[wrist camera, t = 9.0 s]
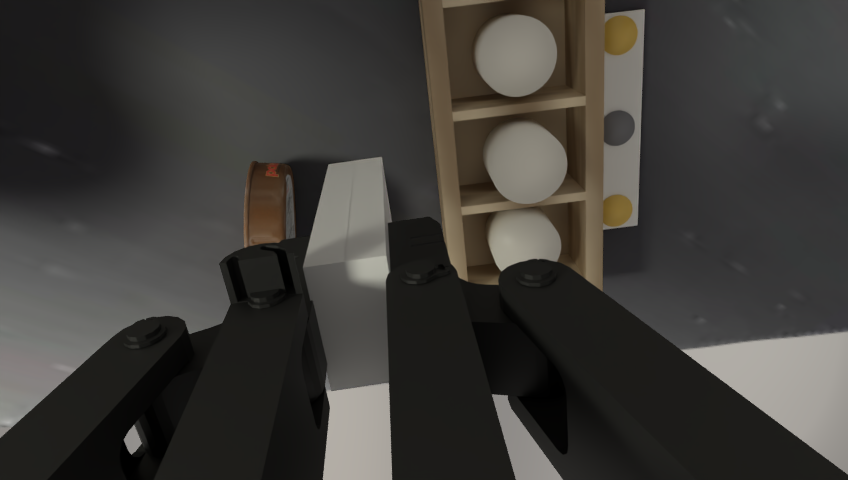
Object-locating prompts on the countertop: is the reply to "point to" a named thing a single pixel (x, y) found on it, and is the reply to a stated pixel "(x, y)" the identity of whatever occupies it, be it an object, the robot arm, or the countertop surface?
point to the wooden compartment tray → (485, 108)
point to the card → (622, 116)
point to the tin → (269, 204)
